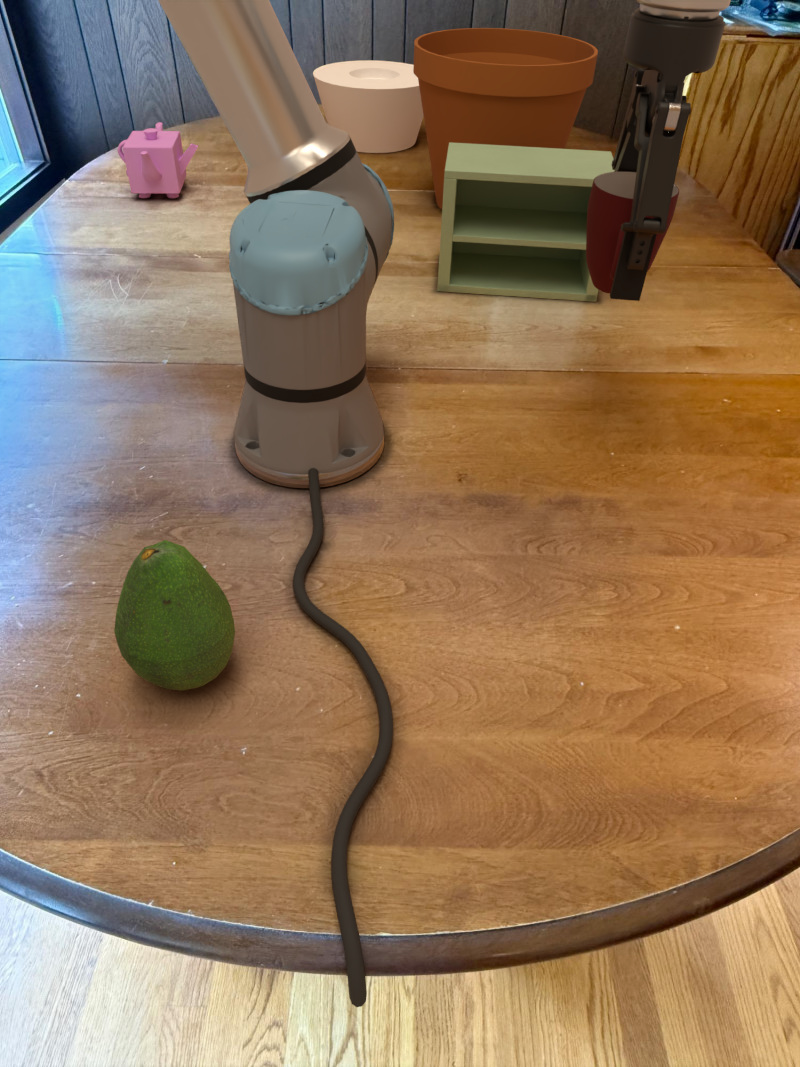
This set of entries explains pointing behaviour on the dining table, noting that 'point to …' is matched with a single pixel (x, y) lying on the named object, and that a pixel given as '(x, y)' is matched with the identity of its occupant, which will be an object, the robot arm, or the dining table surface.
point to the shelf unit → (517, 220)
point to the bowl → (372, 103)
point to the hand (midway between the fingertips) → (617, 273)
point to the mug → (613, 224)
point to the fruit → (173, 619)
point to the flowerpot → (499, 89)
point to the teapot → (155, 161)
